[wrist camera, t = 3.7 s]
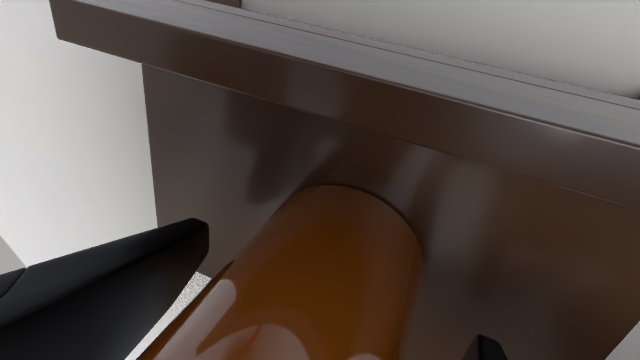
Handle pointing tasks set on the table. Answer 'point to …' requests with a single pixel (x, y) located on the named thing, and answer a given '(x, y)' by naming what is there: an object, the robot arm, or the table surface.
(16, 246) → the table surface
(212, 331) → the spice bottle
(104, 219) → the table surface
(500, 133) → the spice shelf
